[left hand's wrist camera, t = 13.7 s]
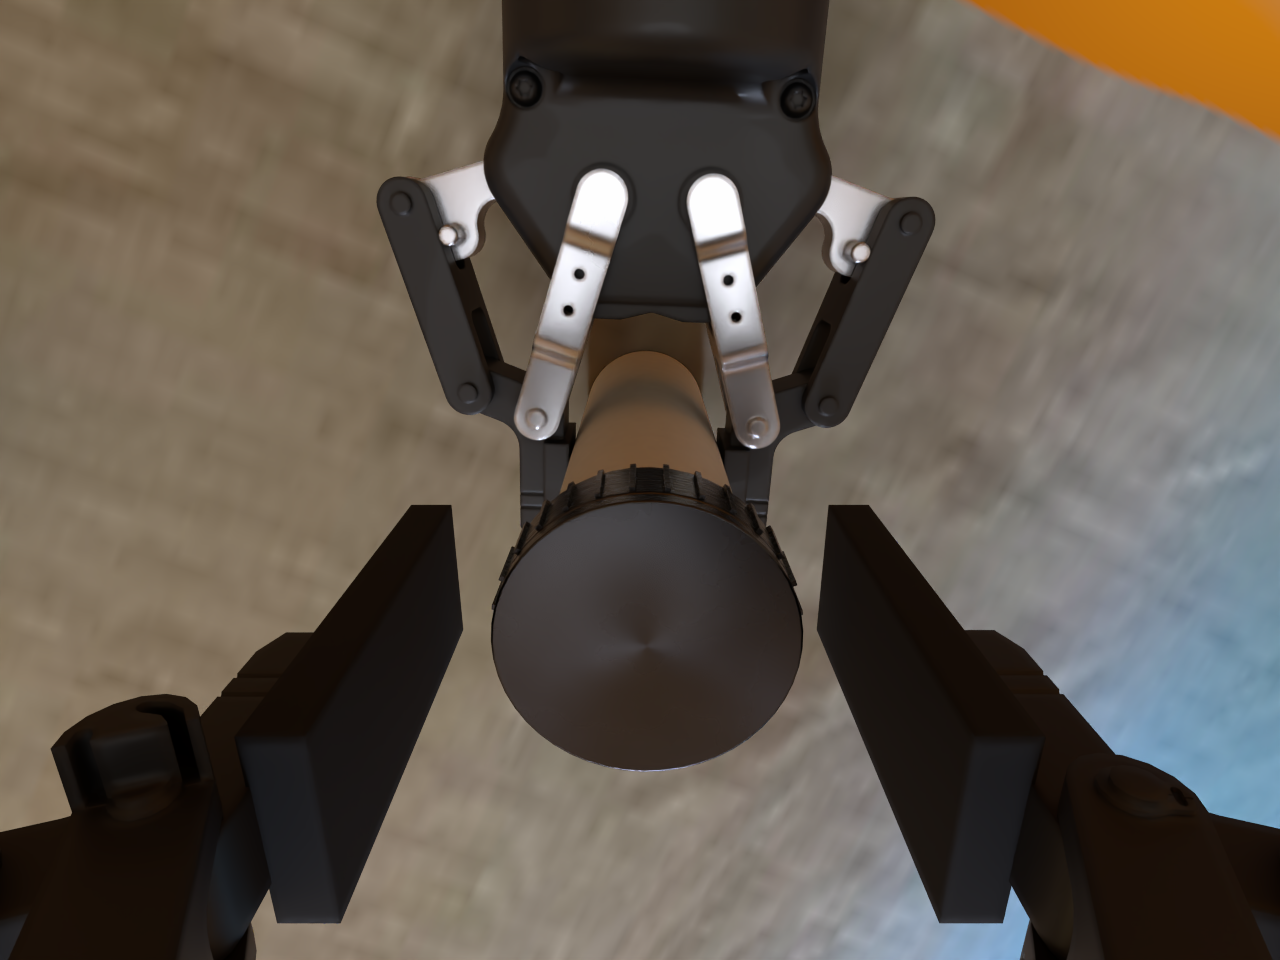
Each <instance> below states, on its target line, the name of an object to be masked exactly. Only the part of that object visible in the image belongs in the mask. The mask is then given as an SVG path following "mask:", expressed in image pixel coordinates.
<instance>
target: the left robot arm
mask: <svg viewBox="0 0 1280 960" xmlns="http://www.w3.org/2000/svg"><path fill="white" fill-rule="evenodd" d="M462 631H463V623H462V612H461V602H460V591H459V580H458V570H457V559H456V549H455V538H454V528H453V517H452V507H451V505H411V506H410V508H409V509H408V510H407V511H406V513H405V514H404V515H403V517H402V518H401V519H400V521H399V522H398V523H397V525H396V526H395V527H394V528H393V530H392V531H391V532H390V534H389V535H388V536H387V538H386V539H385V540H384V542H383V543H382V544H381V545H380V547H379V548H378V549H377V551H376V552H375V553H374V555H373V556H372V557H371V559H370V560H369V561H368V562H367V564H366V565H365V566H364V568H363V569H362V570H361V572H360V573H359V574H358V575H357V577H356V578H355V579H354V581H353V582H352V583H351V585H350V586H349V587H348V589H347V590H346V591H345V592H344V594H343V595H342V596H341V598H340V599H339V600H338V602H337V603H336V604H335V606H334V607H333V608H332V609H331V611H330V612H329V613H328V615H327V616H326V617H325V619H324V620H323V621H322V623H321V624H320V625H319V626H318V628H317V629H316V630H315V632H314V633H285V634H283V635H282V636H280V637H278V638H277V639H275V640H274V641H272V642H271V643H269V644H267V645H266V646H264V647H263V648H261V649H260V650H258V651H256V653H255V654H254V655H253V656H252V657H251V658H250V660H249V661H248V662H247V663H246V664H245V665H244V666H243V668H242V669H241V670H240V671H239V672H238V673H237V678H233V679H232V680H231V682H230V683H229V684H228V685H227V686H226V687H225V689H224V690H223V691H222V694H221V697H217V698H216V699H215V700H214V701H213V702H212V704H211V705H210V706H209V707H208V708H207V709H206V711H205V712H204V713H203V714H202V715H201V716H200V715H199V711H198V707H197V705H196V704H194V703H193V702H192V701H190V700H189V699H188V698H186V697H182V696H176V695H170V694H161V695H150V696H141V697H137V698H134V699H130V700H127V701H123V702H119V703H116V704H113V705H111V706H108V707H106V708H104V709H102V710H100V711H98V712H95V713H93V714H91V715H89V716H87V717H85V718H84V719H82V720H81V721H80V722H78V723H77V724H75V725H74V726H72V727H71V728H70V729H68V730H67V731H65V732H64V733H63V734H62V736H61V737H60V738H59V739H58V740H57V742H56V743H55V744H54V745H53V746H52V748H51V751H52V754H53V757H54V760H55V763H56V766H57V769H58V772H59V775H60V778H61V781H62V784H63V787H64V790H65V793H66V796H67V799H68V802H69V805H70V808H71V810H72V814H71V816H69V817H66V818H62V819H58V820H53V821H49V822H44V823H40V824H35V825H31V826H26V827H22V828H17V829H13V830H8V831H4V832H0V960H256V944H255V938H254V933H253V929H252V925H251V921H252V919H253V917H254V915H255V913H256V911H257V909H258V908H259V906H260V904H261V902H262V900H263V898H264V897H265V895H266V893H267V891H268V889H269V890H270V894H271V898H272V903H273V907H274V911H275V916H276V920H277V923H341V921H342V918H343V916H344V914H345V911H346V909H347V906H348V904H349V902H350V899H351V897H352V895H353V892H354V890H355V887H356V885H357V883H358V880H359V878H360V875H361V873H362V871H363V868H364V866H365V863H366V861H367V859H368V856H369V854H370V851H371V849H372V847H373V844H374V842H375V839H376V837H377V835H378V832H379V830H380V827H381V825H382V823H383V820H384V818H385V816H386V813H387V811H388V808H389V806H390V804H391V801H392V799H393V796H394V794H395V792H396V789H397V787H398V784H399V782H400V780H401V777H402V775H403V772H404V770H405V768H406V765H407V763H408V760H409V758H410V756H411V753H412V751H413V749H414V746H415V744H416V741H417V739H418V737H419V734H420V732H421V729H422V727H423V725H424V722H425V720H426V717H427V715H428V713H429V710H430V708H431V705H432V703H433V701H434V698H435V696H436V693H437V691H438V689H439V686H440V684H441V681H442V679H443V677H444V674H445V672H446V670H447V667H448V665H449V662H450V660H451V658H452V655H453V653H454V650H455V648H456V646H457V643H458V641H459V638H460V636H461V634H462ZM817 631H818V634H819V636H820V638H821V641H822V643H823V646H824V648H825V650H826V653H827V655H828V658H829V660H830V662H831V665H832V667H833V670H834V672H835V674H836V677H837V679H838V681H839V684H840V686H841V689H842V691H843V693H844V696H845V698H846V701H847V703H848V705H849V708H850V710H851V713H852V715H853V717H854V720H855V722H856V725H857V727H858V729H859V732H860V734H861V737H862V739H863V741H864V744H865V746H866V749H867V751H868V753H869V756H870V758H871V760H872V763H873V765H874V768H875V770H876V772H877V775H878V777H879V780H880V782H881V784H882V787H883V789H884V792H885V794H886V796H887V799H888V801H889V804H890V806H891V808H892V811H893V813H894V816H895V818H896V820H897V823H898V825H899V827H900V830H901V832H902V835H903V837H904V839H905V842H906V844H907V847H908V849H909V851H910V854H911V856H912V859H913V861H914V863H915V866H916V868H917V871H918V873H919V875H920V878H921V880H922V883H923V885H924V887H925V890H926V892H927V895H928V897H929V899H930V902H931V904H932V906H933V909H934V911H935V914H936V916H937V918H938V921H939V923H1003V920H1004V916H1005V911H1006V907H1007V903H1008V898H1009V894H1010V890H1011V886H1012V887H1013V889H1014V891H1015V893H1016V895H1017V897H1018V898H1019V900H1020V902H1021V904H1022V906H1023V907H1024V909H1025V911H1026V913H1027V915H1028V917H1029V918H1030V921H1029V925H1028V929H1027V933H1026V937H1025V941H1024V945H1023V949H1022V953H1021V957H1020V960H1280V829H1278V828H1273V827H1269V826H1264V825H1260V824H1255V823H1251V822H1246V821H1242V820H1237V819H1233V818H1228V817H1223V816H1219V815H1216V814H1212V813H1209V812H1208V811H1207V810H1206V808H1205V807H1204V805H1203V804H1202V803H1201V801H1200V800H1199V798H1198V797H1197V796H1196V794H1195V793H1194V792H1192V791H1191V790H1190V789H1189V788H1187V787H1186V786H1185V785H1184V784H1182V783H1181V782H1180V781H1179V780H1177V779H1176V778H1175V777H1173V776H1171V775H1170V774H1168V773H1166V772H1164V771H1162V770H1160V769H1158V768H1156V767H1154V766H1152V765H1150V764H1148V763H1145V762H1142V761H1139V760H1136V759H1132V758H1129V757H1126V756H1123V755H1116V754H1115V753H1114V752H1113V751H1112V750H1111V749H1110V748H1109V746H1108V745H1107V744H1106V743H1105V742H1104V741H1103V739H1102V738H1101V737H1100V736H1099V735H1098V734H1097V733H1096V731H1095V730H1094V729H1093V728H1092V727H1091V726H1090V724H1089V723H1088V722H1087V721H1086V720H1085V719H1084V718H1083V716H1082V715H1081V714H1080V713H1079V712H1078V711H1077V709H1076V708H1075V707H1074V706H1073V705H1072V704H1071V703H1070V701H1069V700H1068V699H1067V698H1066V697H1065V696H1064V695H1063V694H1060V693H1059V689H1058V688H1057V686H1056V685H1055V684H1054V683H1053V682H1052V681H1051V680H1050V678H1049V677H1048V676H1047V675H1043V670H1042V669H1041V668H1040V667H1039V666H1038V665H1037V663H1036V662H1035V661H1034V660H1033V659H1032V658H1031V656H1030V655H1029V654H1028V653H1027V652H1026V651H1025V650H1024V649H1023V648H1022V647H1020V646H1018V645H1017V644H1015V643H1014V642H1012V641H1011V640H1009V639H1007V638H1006V637H1004V636H1003V635H1001V634H999V633H998V632H996V631H995V630H964V629H963V628H962V626H961V625H960V624H959V623H958V621H957V620H956V619H955V617H954V616H953V615H952V613H951V612H950V611H949V609H948V608H947V607H946V606H945V604H944V603H943V602H942V600H941V599H940V598H939V596H938V595H937V594H936V592H935V591H934V590H933V589H932V587H931V586H930V585H929V583H928V582H927V581H926V579H925V578H924V577H923V575H922V574H921V573H920V572H919V570H918V569H917V568H916V566H915V565H914V564H913V562H912V561H911V560H910V559H909V557H908V556H907V555H906V553H905V552H904V551H903V549H902V548H901V547H900V545H899V544H898V543H897V542H896V540H895V539H894V538H893V536H892V535H891V534H890V532H889V531H888V530H887V528H886V527H885V526H884V525H883V523H882V522H881V521H880V519H879V518H878V517H877V515H876V514H875V513H874V511H873V510H872V509H871V508H870V506H869V505H829V507H828V517H827V528H826V538H825V549H824V559H823V570H822V580H821V591H820V602H819V612H818V623H817Z"/></svg>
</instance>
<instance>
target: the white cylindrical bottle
mask: <svg viewBox="0 0 1280 960" xmlns="http://www.w3.org/2000/svg"><path fill="white" fill-rule="evenodd" d="M630 464H636V468H639V467H656V468H663V464H667V465H669V469H674V470H678V471H683V472H687V473H691V474H694V473H695V471H698V472H701V475H702V478H705V479H708V480H710V481H712V482H714V483H716V484H718V485H719V486H721V487H723V486H724V484H726V485H728V486H730V484H729V481H728V478H727V475H726V472H725V469H724V465H723V462H722V459H721V456H720V453H719V450H718V447H717V443H716V440H715V437H714V434H713V431H712V428H711V424H710V421H709V418H708V415H707V412H706V409H705V405H704V402H703V399H702V396H701V393H700V390H699V387H698V385H697V382H696V380H695V379H694V377H693V376H692V374H691V373H690V372H689V370H688V369H687V368H686V367H685V366H684V365H683V364H681V363H680V362H679V361H677V360H676V359H674V358H672V357H670V356H668V355H665V354H662V353H658V352H653V351H638V352H632V353H629V354H625V355H623V356H621V357H618V358H617V359H615V360H613V361H612V362H611V363H609V364H608V365H607V366H606V367H605V368H604V369H603V370H602V371H601V372H600V373H599V375H598V376H597V378H596V380H595V381H594V383H593V386H592V388H591V391H590V394H589V398H588V401H587V404H586V408H585V411H584V414H583V418H582V421H581V424H580V428H579V431H578V434H577V438H576V441H575V444H574V448H573V451H572V454H571V458H570V461H569V464H568V467H567V471H566V474H565V477H564V481H563V484H562V487H561V491H560V494H561V493H562V492H564V491H566V490H567V487H568V484H569V483H571V482H574V483H575V484H577V483H580V482H582V481H584V480H586V479H589V478H591V477H593V476H596V475H597V473H598V471H599V470H602V469H603V470H604V472H605V473H607V472H610V471H614V470H621V469H627V468H630ZM730 489H731V488H730ZM731 492H732V491H731Z"/></svg>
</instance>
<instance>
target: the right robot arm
mask: <svg viewBox="0 0 1280 960" xmlns="http://www.w3.org/2000/svg"><path fill="white" fill-rule="evenodd" d="M828 7H829V0H502V26H503V79H504V91H503V103H502V108H501V112H500V116H499V119H498V122H497V125H496V127H495V129H494V131H493V133H492V135H491V137H490V139H489V141H488V143H487V146H486V149H485V153H484V160H483V161H480V162H476V163H473V164H469V165H466V166H463V167H459V168H456V169H453V170H449V171H446V172H442V173H439V174H436V175H432V176H429V177H426V178H422V179H421V178H415V177H393V178H390V179H388V180H387V181H385V182H384V183H383V184H382V185H381V187H380V189H379V191H378V194H377V208H378V211H379V214H380V216H381V219H382V222H383V225H384V228H385V230H386V233H387V236H388V239H389V241H390V244H391V247H392V250H393V252H394V255H395V258H396V261H397V263H398V266H399V269H400V272H401V274H402V277H403V280H404V283H405V285H406V288H407V291H408V294H409V297H410V299H411V302H412V305H413V308H414V310H415V313H416V316H417V319H418V321H419V324H420V327H421V330H422V332H423V335H424V338H425V341H426V343H427V346H428V349H429V352H430V354H431V357H432V360H433V363H434V366H435V368H436V371H437V374H438V377H439V379H440V382H441V385H442V388H443V390H444V393H445V396H446V399H447V401H448V403H449V404H450V405H451V407H452V408H453V409H455V410H456V411H458V412H460V413H462V414H466V415H474V414H478V413H481V414H484V415H486V416H489V417H492V418H494V419H497V420H499V421H501V422H504V423H505V424H507V425H508V426H509V427H510V428H511V429H512V430H513V431H514V432H515V434H516V436H517V438H518V441H519V446H520V492H521V495H520V505H521V528H523V525H524V524H525V522H526V521H527V522H529V523H531V522H532V520H533V519H534V517H535V516H536V515H537V514H538V513H539V512H540V510H541V507H542V504H543V502H544V501H545V500H546V499H548V500H549V501H550V502H551V501H552V500H553V499H554V498H556V497H557V496H558V495H559V494H560V491H561V487H562V484H563V481H564V477H565V474H566V471H567V467H568V464H569V461H570V458H571V454H572V451H573V448H574V444H575V441H576V423H569V397H570V394H571V391H572V388H573V385H574V381H575V378H576V375H577V372H578V369H579V366H580V362H581V359H582V356H583V353H584V350H585V347H586V344H587V341H588V338H589V335H590V332H591V329H592V326H593V322H594V319H595V318H600V319H624V318H629V317H633V316H637V315H642V314H646V313H656V314H659V315H663V316H666V317H669V318H672V319H675V320H678V321H681V322H698V323H705V324H706V328H707V333H708V337H709V341H710V345H711V349H712V352H713V356H714V360H715V365H716V369H717V374H718V378H719V383H720V387H721V392H722V396H723V401H724V405H725V410H726V426H725V428H717V441H716V443H717V447H718V450H719V453H720V456H721V459H722V462H723V465H724V469H725V472H726V475H727V478H728V481H729V484H730V488H731V491H732V494H734V495H735V496H737V497H738V498H739V499H741V500H742V501H743V502H744V503H745V504H746V505H748V504H749V503H752V504H753V505H754V507H755V510H756V512H757V515H758V517H759V519H760V520H761V521H762V522H763V523H764V525H765V526H766V522H767V512H768V501H769V493H770V483H771V474H772V464H773V456H774V452H775V449H776V447H777V445H778V444H779V442H780V441H781V440H782V439H783V438H784V437H786V436H787V435H789V434H791V433H793V432H796V431H799V430H803V429H806V428H809V427H813V426H818V427H822V428H830V427H834V426H836V425H838V424H840V423H841V422H843V421H844V420H845V418H846V417H847V416H848V414H849V412H850V410H851V408H852V405H853V403H854V401H855V399H856V397H857V395H858V392H859V390H860V388H861V386H862V384H863V382H864V380H865V377H866V375H867V373H868V371H869V369H870V367H871V364H872V362H873V360H874V358H875V356H876V354H877V351H878V349H879V347H880V345H881V343H882V341H883V338H884V336H885V334H886V332H887V330H888V328H889V325H890V323H891V321H892V319H893V317H894V315H895V312H896V310H897V308H898V306H899V304H900V302H901V299H902V297H903V295H904V293H905V291H906V289H907V286H908V284H909V282H910V280H911V278H912V276H913V273H914V271H915V269H916V267H917V265H918V263H919V260H920V258H921V256H922V254H923V252H924V250H925V248H926V245H927V243H928V241H929V239H930V237H931V235H932V232H933V230H934V226H935V214H934V211H933V209H932V207H931V205H930V204H929V203H928V202H927V201H925V200H924V199H921V198H918V197H902V198H889V197H886V196H883V195H881V194H878V193H876V192H873V191H871V190H868V189H866V188H863V187H861V186H858V185H855V184H853V183H850V182H848V181H845V180H843V179H840V178H838V177H835V176H833V175H832V168H831V162H830V158H829V155H828V152H827V150H826V148H825V145H824V143H823V140H822V137H821V133H820V128H819V121H818V100H819V91H820V82H821V72H822V63H823V53H824V44H825V35H826V25H827V16H828ZM496 201H497V203H498V204H499V205H500V207H501V208H502V210H503V211H504V213H505V214H506V216H507V217H508V219H509V220H510V221H511V223H512V224H513V226H514V227H515V229H516V230H517V232H518V233H519V235H520V236H521V238H522V239H523V240H524V242H525V243H526V245H527V246H528V248H529V249H530V251H531V252H532V254H533V255H534V257H535V258H536V259H537V261H538V262H539V264H540V265H541V267H542V268H543V270H544V271H545V273H546V274H547V276H548V277H549V278H550V280H551V282H550V286H549V289H548V292H547V296H546V299H545V303H544V306H543V310H542V313H541V316H540V320H539V323H538V327H537V330H536V334H535V337H534V341H533V347H532V353H531V357H530V361H529V364H528V367H527V371H524V370H522V369H519V368H517V367H514V366H512V365H509V364H507V363H504V360H503V357H502V354H501V351H500V348H499V345H498V342H497V339H496V336H495V333H494V330H493V327H492V324H491V321H490V318H489V315H488V312H487V309H486V306H485V303H484V300H483V297H482V294H481V290H480V287H479V284H478V281H477V278H476V275H475V272H474V269H473V266H472V263H471V260H470V257H472V256H474V255H476V254H477V253H479V252H480V251H481V249H482V248H483V246H484V243H485V239H486V232H485V227H484V219H485V215H486V212H487V210H488V209H489V207H490V206H491V205H492V204H493V203H495V202H496ZM814 216H817V217H818V218H819V220H820V221H821V223H822V225H823V227H824V234H825V236H824V242H823V246H822V258H823V261H824V263H825V265H826V266H827V267H828V268H829V269H830V270H832V271H834V272H835V274H834V276H833V279H832V281H831V283H830V286H829V288H828V290H827V293H826V295H825V297H824V300H823V302H822V304H821V307H820V309H819V311H818V314H817V316H816V318H815V321H814V323H813V325H812V328H811V330H810V332H809V335H808V337H807V339H806V342H805V344H804V347H803V349H802V351H801V354H800V356H799V358H798V361H797V363H796V365H795V368H794V370H793V372H792V374H791V375H788V376H785V377H781V378H778V379H775V380H771V375H770V370H769V365H768V348H767V343H766V337H765V332H764V327H763V322H762V317H761V312H760V307H759V302H758V297H757V292H756V287H757V285H758V284H759V283H760V282H761V280H762V279H763V278H764V277H765V275H766V274H767V273H768V272H769V271H770V269H771V268H772V267H773V266H774V264H775V263H776V262H777V261H778V260H779V258H780V257H781V256H782V255H783V253H784V252H785V251H786V250H787V249H788V247H789V246H790V245H791V244H792V242H793V241H794V240H795V239H796V238H797V236H798V235H799V234H800V233H801V231H802V230H803V229H804V228H805V227H806V225H807V224H808V223H809V222H810V220H811V219H812V218H813V217H814Z"/></svg>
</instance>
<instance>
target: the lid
mask: <svg viewBox="0 0 1280 960" xmlns="http://www.w3.org/2000/svg"><path fill="white" fill-rule="evenodd" d="M499 580H500V581H501V583H500V586H499V588H498V591H497V593H496V596H495V599H494V601H493V604H492V610H494V612H493V618H492V623H491V645H492V653H493V660H494V663H495V667H496V670H497V674H498V677H499V679H500V681H501V684H502V686H503V688H504V691H505V693H506V694H507V696H508V698H509V699H510V701H511V702H512V704H513V706H514V707H515V709H516V710H517V711H518V712H519V713H520V715H521V716H522V717H523V718H524V720H525V721H526V722H527V723H528V724H529V725H530V726H531V727H532V728H533V729H535V730H536V731H537V732H538V733H539V734H540V735H541V736H543V737H544V738H545V739H547V740H548V741H550V742H551V743H552V744H554V745H555V746H557V747H559V748H561V749H562V750H564V751H566V752H568V753H569V754H572V755H574V756H576V757H579V758H581V759H583V760H586V761H588V762H592V763H595V764H598V765H602V766H605V767H610V768H616V769H621V770H630V771H665V770H672V769H680V768H684V767H688V766H692V765H696V764H700V763H702V762H705V761H708V760H711V759H713V758H716V757H718V756H720V755H722V754H724V753H726V752H728V751H730V750H732V749H734V748H735V747H737V746H738V745H740V744H742V743H743V742H745V741H746V740H748V739H749V738H750V737H751V736H753V735H754V734H755V733H756V732H757V731H758V730H760V729H761V728H762V727H763V726H764V725H765V724H766V723H767V722H768V721H769V719H770V718H771V717H772V716H773V715H774V714H775V713H776V711H777V710H778V708H779V707H780V706H781V704H782V703H783V701H784V700H785V698H786V696H787V694H788V692H789V690H790V688H791V686H792V685H793V682H794V679H795V676H796V674H797V671H798V668H799V664H800V659H801V654H802V647H803V625H802V616H801V615H803V611H802V608H801V605H800V603H799V600H798V598H797V595H796V593H795V590H794V588H793V587H794V586H797V583H796V580H795V578H794V575H793V573H792V571H791V568H790V566H789V563H788V561H787V558H786V556H785V554H784V551H781V548H780V546H779V543H778V541H777V538H776V536H775V533H774V531H773V529H772V527H771V526H768V527H766V526H765V525H764V523H763V522H762V521H761V520H760V519H759V517H758V515H757V512H756V510H755V507H754V505H753V504H752V503H749V504H748V505H746V504H745V503H744V502H743V501H742V500H741V499H739V498H738V497H737V496H735V495H734V494H732V492H731V489H730V486H728V485H726V484H724V486H723V487H721V486H719V485H718V484H716V483H714V482H712V481H710V480H708V479H705V478H702V475H701V472H698V471H695V473H694V474H691V473H687V472H683V471H678V470H674V469H669V465H667V464H663V468H656V467H639V468H636V464H630V468H627V469H621V470H614V471H610V472H607V473H605V472H604V470H603V469H602V470H599V471H598V473H597V475H596V476H593V477H591V478H589V479H586V480H584V481H582V482H580V483H577V484H575V483H574V482H571V483H569V484H568V487H567V490H566V491H564V492H562V493H561V494H559V495H558V496H557V497H556V498H554V499H553V500H552V501H551V502H550V501H549V500H548V499H546V500H545V501H544V502H543V504H542V507H541V510H540V512H539V513H538V514H537V515H536V516H535V517H534V519H533V520H532V522H531V523H529V522H527V521H526V522H525V524H524V525H523V528H522V530H521V533H520V535H519V538H518V540H517V543H516V546H515V547H511V550H510V552H509V555H508V557H507V560H506V562H505V565H504V567H503V570H502V572H501V575H500V577H499Z"/></svg>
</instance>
